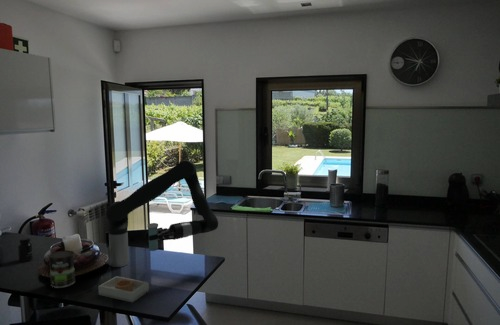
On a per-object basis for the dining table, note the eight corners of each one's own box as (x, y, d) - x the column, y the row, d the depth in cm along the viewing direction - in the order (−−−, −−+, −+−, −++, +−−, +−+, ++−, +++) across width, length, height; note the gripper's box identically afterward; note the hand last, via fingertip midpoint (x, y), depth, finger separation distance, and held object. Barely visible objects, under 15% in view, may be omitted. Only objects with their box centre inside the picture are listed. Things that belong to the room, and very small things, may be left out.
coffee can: (73, 286, 164) (71, 256, 162) (48, 289, 161) (46, 259, 159) (77, 277, 174) (75, 249, 172) (53, 279, 171) (52, 251, 169)
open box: (98, 294, 156) (98, 284, 156) (116, 284, 166) (116, 274, 166) (132, 302, 149) (131, 292, 149) (148, 291, 160) (148, 281, 159)
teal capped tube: (146, 250, 167) (145, 225, 166) (152, 247, 172) (151, 222, 170) (154, 251, 165) (153, 226, 164) (160, 248, 170) (160, 223, 169)
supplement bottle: (32, 261, 193) (30, 240, 192) (17, 263, 191) (15, 241, 190) (34, 257, 200) (33, 236, 198) (20, 258, 197) (18, 237, 196)
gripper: (174, 219, 182) (141, 225, 171) (187, 226, 171) (153, 233, 160) (174, 234, 183) (141, 241, 172) (187, 241, 171) (153, 249, 161)
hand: (147, 237), depth 166 cm, fingers closed on teal capped tube, 4 cm apart
